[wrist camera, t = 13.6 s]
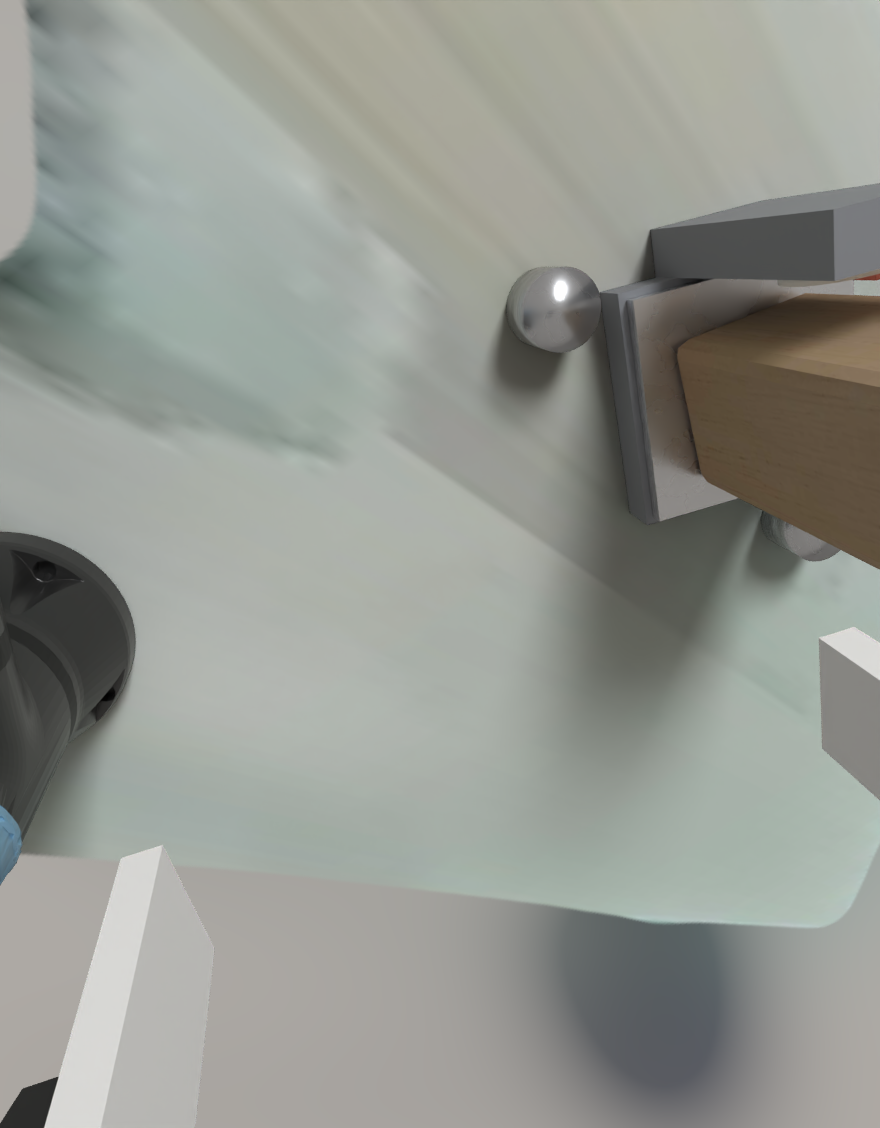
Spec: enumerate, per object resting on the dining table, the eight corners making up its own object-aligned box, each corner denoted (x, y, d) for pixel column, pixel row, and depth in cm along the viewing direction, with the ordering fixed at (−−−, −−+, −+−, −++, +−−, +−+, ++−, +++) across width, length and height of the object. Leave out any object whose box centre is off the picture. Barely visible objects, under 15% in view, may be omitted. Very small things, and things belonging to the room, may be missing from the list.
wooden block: (828, 430, 52) (1119, 517, 34) (697, 483, 52) (920, 600, 33) (809, 286, 48) (1128, 297, 30) (667, 343, 48) (902, 388, 29)
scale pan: (636, 505, 56) (659, 521, 52) (609, 298, 50) (633, 300, 46) (820, 451, 57) (855, 463, 54) (815, 243, 51) (853, 241, 48)
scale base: (629, 512, 56) (771, 613, 40) (593, 244, 49) (748, 231, 32) (824, 455, 57) (1039, 530, 41) (817, 186, 50) (1078, 144, 33)
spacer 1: (513, 354, 50) (531, 361, 47) (499, 277, 48) (516, 278, 45) (583, 336, 51) (606, 341, 47) (572, 258, 49) (595, 257, 45)
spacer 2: (762, 550, 60) (793, 569, 56) (759, 492, 58) (790, 507, 54) (819, 533, 60) (854, 550, 56) (818, 475, 58) (853, 489, 54)
